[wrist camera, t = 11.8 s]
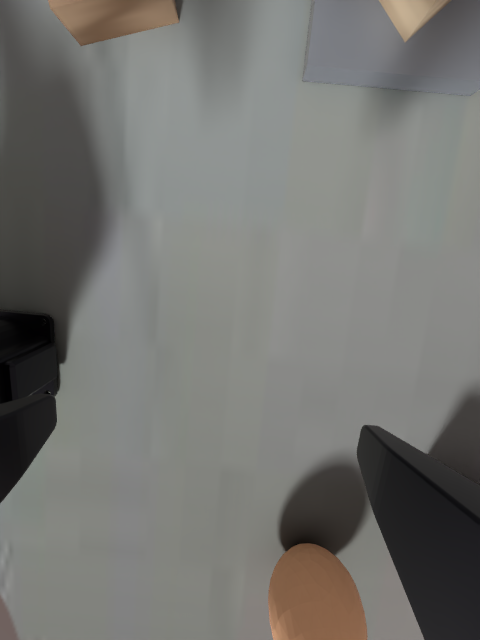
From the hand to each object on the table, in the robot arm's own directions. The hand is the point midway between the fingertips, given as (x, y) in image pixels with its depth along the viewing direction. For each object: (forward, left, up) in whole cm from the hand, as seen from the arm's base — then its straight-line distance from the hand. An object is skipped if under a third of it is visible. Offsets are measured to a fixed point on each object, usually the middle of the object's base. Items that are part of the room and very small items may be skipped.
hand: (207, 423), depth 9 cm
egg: (+8, -20, -13) cm, 25 cm away
